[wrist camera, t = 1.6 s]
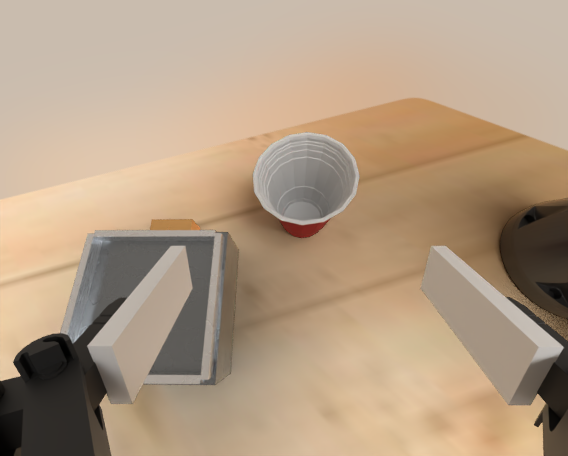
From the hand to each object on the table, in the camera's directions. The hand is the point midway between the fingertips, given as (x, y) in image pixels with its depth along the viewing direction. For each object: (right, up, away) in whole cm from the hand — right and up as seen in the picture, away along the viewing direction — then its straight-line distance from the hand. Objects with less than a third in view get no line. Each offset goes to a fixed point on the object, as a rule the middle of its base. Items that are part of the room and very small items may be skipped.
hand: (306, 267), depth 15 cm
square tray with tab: (-15, -7, +20) cm, 26 cm away
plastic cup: (+1, +3, +24) cm, 24 cm away
